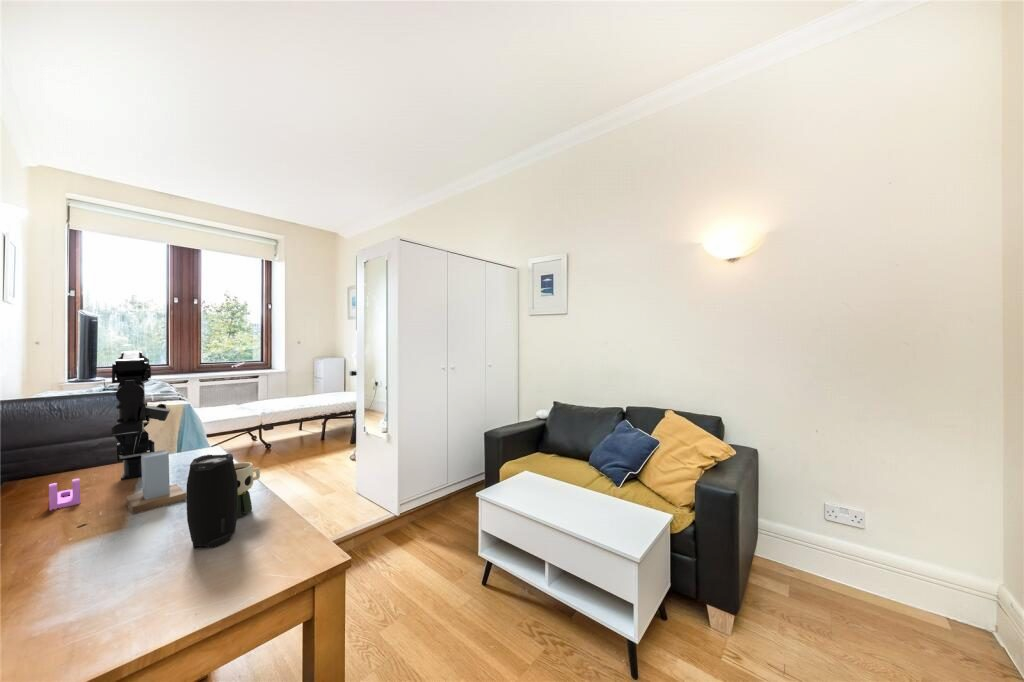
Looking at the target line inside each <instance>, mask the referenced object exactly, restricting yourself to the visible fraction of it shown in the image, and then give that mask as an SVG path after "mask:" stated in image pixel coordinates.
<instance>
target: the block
mask: <svg viewBox="0 0 1024 682" xmlns="http://www.w3.org/2000/svg"><path fill="white" fill-rule="evenodd" d="M169 457H170V454H169V452H168V451H167V450H165V449H163V450H158V451H157V450H156V451H155V452H151V453H146V454H141V464H142V476H141V488H142V490H141V491H142V492H141V493H142V496H143V497H144V498H145V499H146V500H149V499H152V498H156V497H160V496H164V495H168V494H170V484H171V483H170V459H169Z"/></svg>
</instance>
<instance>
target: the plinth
mask: <svg viewBox="0 0 1024 682" xmlns="http://www.w3.org/2000/svg"><path fill="white" fill-rule="evenodd" d="M185 499H186V491H184V490H183V488H182V487H181V486H179V485H178V484H177V483H175V484H171V485H170V494H168V495H164V496H160V497H156V498H152V499H149V500H146V499H145V498H144V497H143V496H142V492H139V493H135V494H130V495H127V496H125V504H126V506H127V507H128V509H129V511H130V512H131V514H132V515H136V514H139V513H143V512H147V511H151V510H154V509H158V508H161V507H164V506H168V505H172V504H175V503H179V502H178V501H180V502H183V501H186V500H185ZM182 500H183V501H182Z"/></svg>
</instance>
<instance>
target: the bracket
mask: <svg viewBox="0 0 1024 682" xmlns="http://www.w3.org/2000/svg"><path fill="white" fill-rule="evenodd" d="M71 481H72V483H71V485H72V486H71V487H72V488H71V489H66V490H60V491H58V483H57V482H54V483H50V484H48V496H49V497H48V499H49V501H48V502H49V511H53V510H52V509H54V510H58V509H57V508H59V509H62V507H63V508H67V507H70V506H75V505H80V504H81V482H80V481H81V479H80V478H73V479H71ZM68 495H70V496H68ZM63 496H64V497H63Z"/></svg>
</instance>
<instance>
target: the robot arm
mask: <svg viewBox="0 0 1024 682" xmlns="http://www.w3.org/2000/svg"><path fill="white" fill-rule="evenodd" d="M120 355H121V356H119V357H118V358H117V359H115V362H114V363H112V365H111V384H118V385H117V390H116V393H115V399H117V405H116V409H117V410H118V418H117V419H116V422H117V423H116V424H114V425H113V426H112V427H111V435H113V437H114V438H115V439H116V441H117V442H118V443H116V456H117V457H116V458H117V459H116V460H117V462H121V461H123V473H122V475H121V477H120V480H125V479H126V480H128V479H132V478H137V477H142V464H141V454H146V453H151V452H156V451H155V449H156V448H155V441H154V440H152V438H150V437H149V436H150V435H149V433H148V432H147V431H146V429H145V427H147V426H148V425H149V423H150V421H151V419H153V420H158V421H161V422H165V421H166V420H167V418H168V416H169V413H170V411H171V409H170V408H167V404H165V403H159V404H158V405H156V406H155V405H153V406H152V405H148V401H146V399H145V398H146V397H145V383H146V382H147V381H149V379H152V367H151V364H150V359H149V358H147V357H146V356H144V355H143V352H142V351H140V350H125V351H121V353H120Z"/></svg>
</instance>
